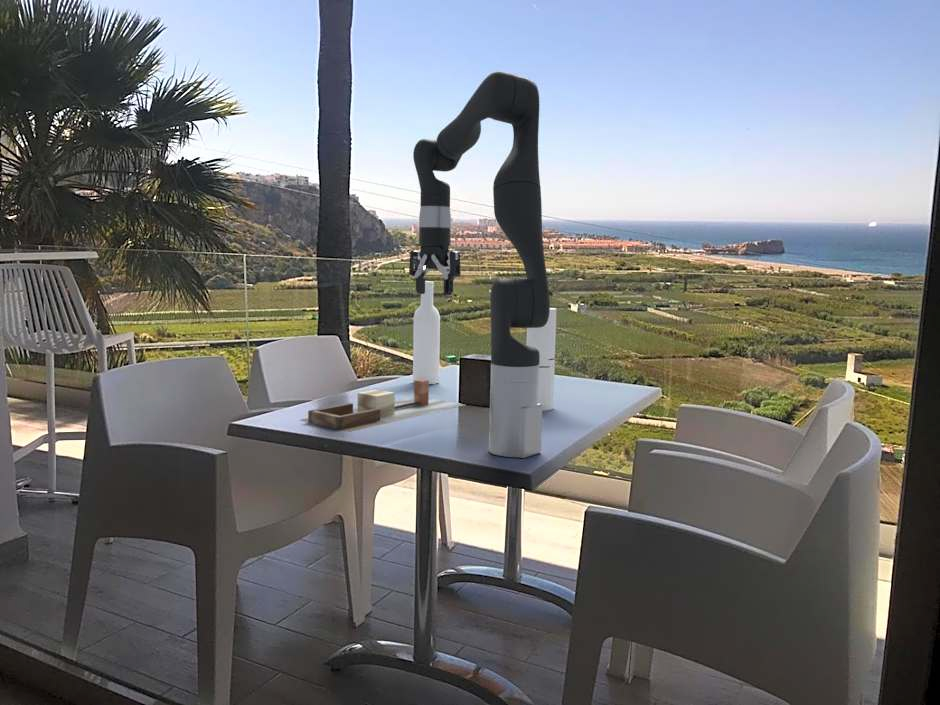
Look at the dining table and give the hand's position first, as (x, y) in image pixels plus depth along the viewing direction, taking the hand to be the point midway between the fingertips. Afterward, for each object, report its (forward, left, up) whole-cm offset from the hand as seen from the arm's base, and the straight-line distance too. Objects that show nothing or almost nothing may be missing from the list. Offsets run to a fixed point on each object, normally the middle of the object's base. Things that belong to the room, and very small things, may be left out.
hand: (434, 294), depth 179 cm
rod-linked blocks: (+3, +9, -27) cm, 29 cm away
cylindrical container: (-18, -20, -28) cm, 39 cm away
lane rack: (+3, +12, -28) cm, 31 cm away
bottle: (+27, -28, -28) cm, 48 cm away
